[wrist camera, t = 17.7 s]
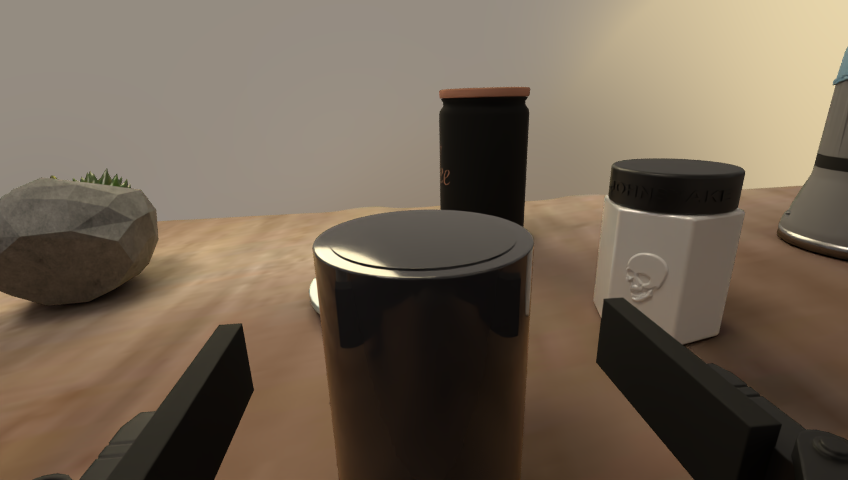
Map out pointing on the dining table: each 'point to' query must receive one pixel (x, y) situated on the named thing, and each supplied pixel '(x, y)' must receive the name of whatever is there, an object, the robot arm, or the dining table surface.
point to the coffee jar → (484, 151)
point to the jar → (671, 242)
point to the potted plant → (73, 238)
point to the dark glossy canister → (426, 343)
